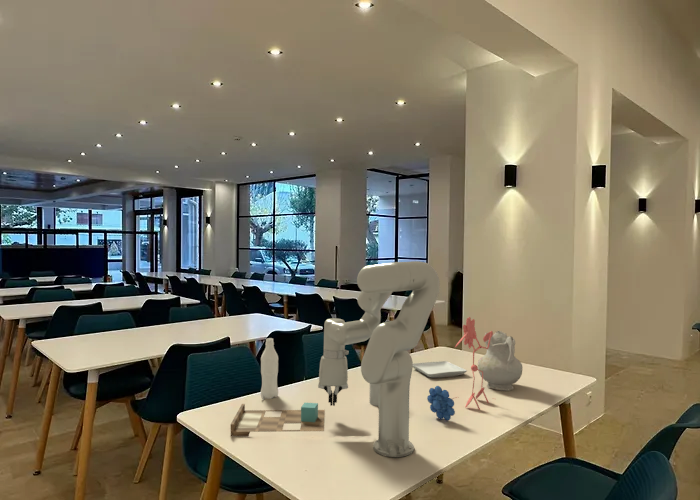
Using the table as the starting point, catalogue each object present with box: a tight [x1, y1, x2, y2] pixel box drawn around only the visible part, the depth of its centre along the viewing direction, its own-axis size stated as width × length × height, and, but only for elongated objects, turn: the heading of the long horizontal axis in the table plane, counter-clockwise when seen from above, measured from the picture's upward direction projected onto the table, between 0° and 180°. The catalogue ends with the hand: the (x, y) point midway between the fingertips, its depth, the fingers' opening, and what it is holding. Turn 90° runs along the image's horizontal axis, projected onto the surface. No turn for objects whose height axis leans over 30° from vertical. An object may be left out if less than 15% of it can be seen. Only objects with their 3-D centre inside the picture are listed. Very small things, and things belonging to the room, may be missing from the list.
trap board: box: [230, 403, 326, 437], centre depth 167 cm, size 20×31×4 cm, turn 92°
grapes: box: [426, 385, 456, 422], centre depth 172 cm, size 12×7×12 cm, turn 46°
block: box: [300, 402, 319, 422], centre depth 168 cm, size 5×5×5 cm
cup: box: [369, 383, 381, 407], centre depth 190 cm, size 8×8×12 cm
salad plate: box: [412, 360, 468, 379], centre depth 236 cm, size 21×21×3 cm
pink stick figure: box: [452, 316, 495, 410], centre depth 191 cm, size 15×26×35 cm, turn 142°
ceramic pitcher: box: [477, 330, 523, 392], centre depth 211 cm, size 22×20×25 cm
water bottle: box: [260, 337, 279, 401], centre depth 193 cm, size 7×7×25 cm
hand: (332, 404), depth 168 cm, fingers closed
